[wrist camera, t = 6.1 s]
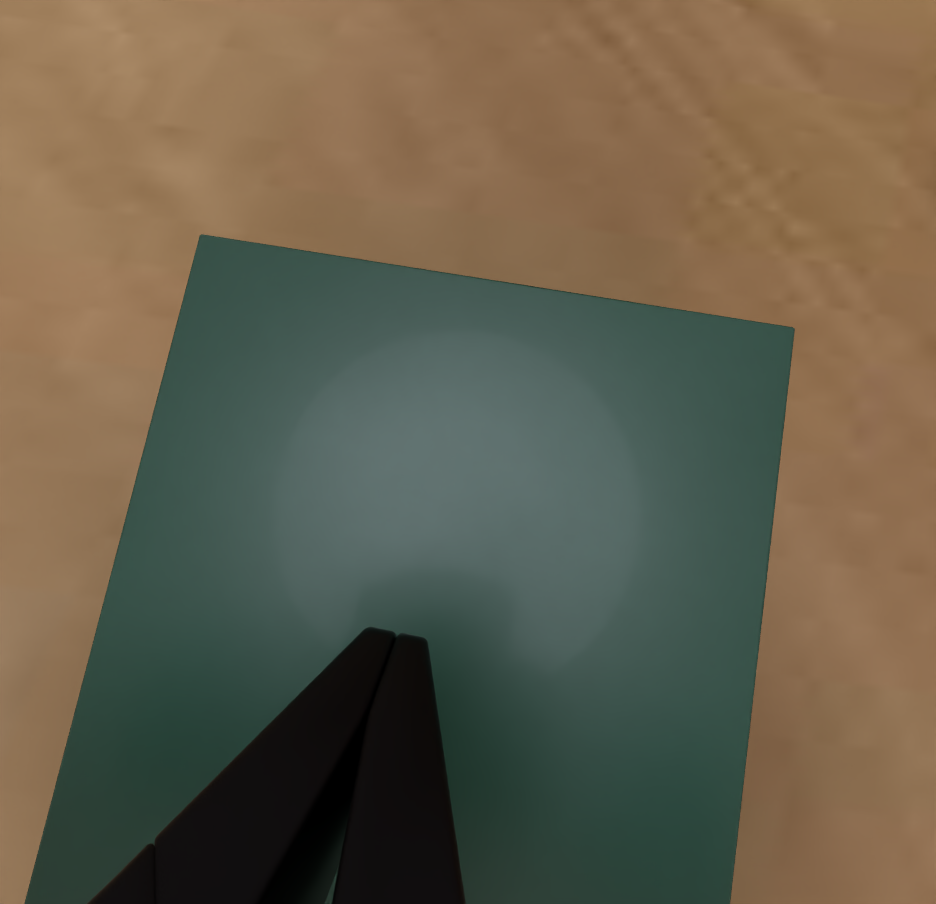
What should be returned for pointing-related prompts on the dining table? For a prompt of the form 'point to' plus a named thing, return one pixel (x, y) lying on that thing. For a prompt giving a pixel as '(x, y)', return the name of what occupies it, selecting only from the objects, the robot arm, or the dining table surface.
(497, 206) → the dining table surface
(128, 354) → the dining table surface
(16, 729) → the dining table surface
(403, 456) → the lid
